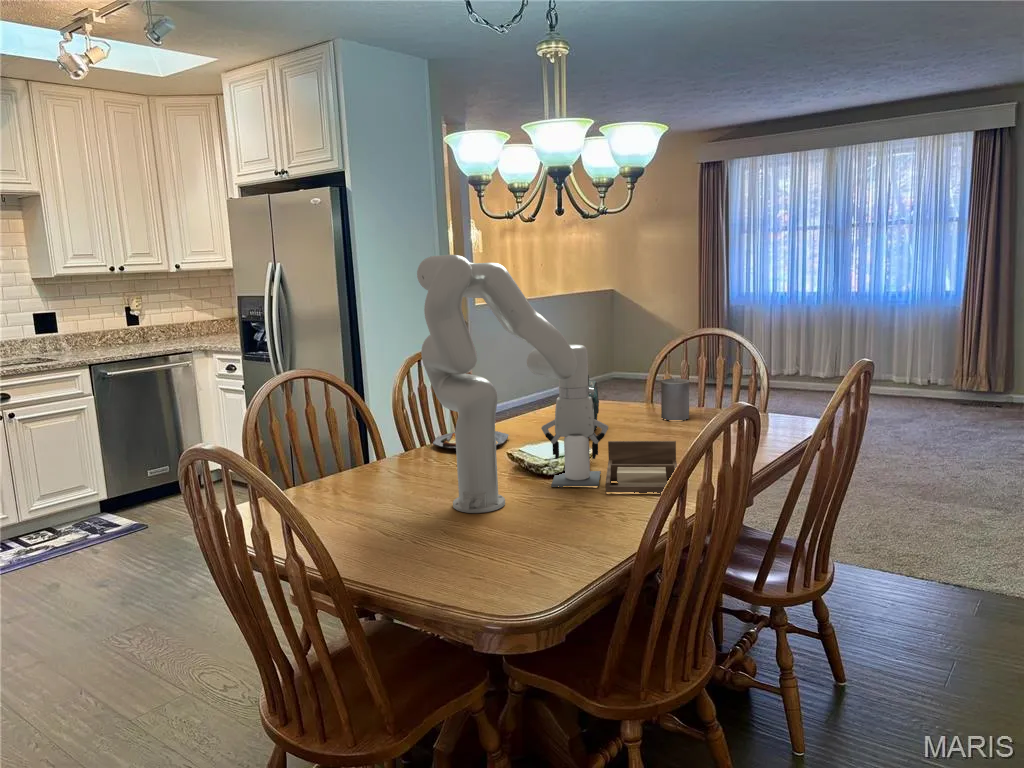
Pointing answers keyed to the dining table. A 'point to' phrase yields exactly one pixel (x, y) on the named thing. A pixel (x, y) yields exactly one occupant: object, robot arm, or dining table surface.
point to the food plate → (450, 441)
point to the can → (577, 457)
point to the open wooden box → (639, 461)
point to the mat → (563, 481)
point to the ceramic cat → (594, 397)
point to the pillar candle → (675, 399)
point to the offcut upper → (641, 474)
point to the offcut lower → (642, 484)
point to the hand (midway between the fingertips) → (575, 457)
